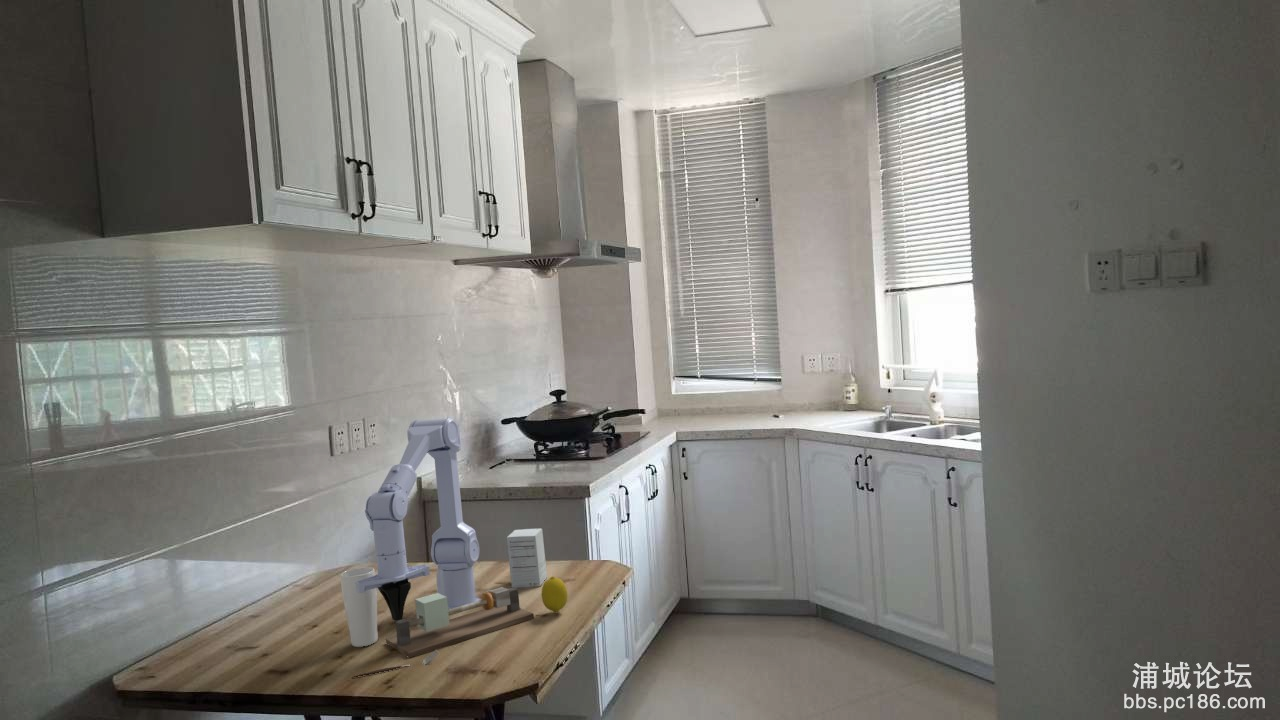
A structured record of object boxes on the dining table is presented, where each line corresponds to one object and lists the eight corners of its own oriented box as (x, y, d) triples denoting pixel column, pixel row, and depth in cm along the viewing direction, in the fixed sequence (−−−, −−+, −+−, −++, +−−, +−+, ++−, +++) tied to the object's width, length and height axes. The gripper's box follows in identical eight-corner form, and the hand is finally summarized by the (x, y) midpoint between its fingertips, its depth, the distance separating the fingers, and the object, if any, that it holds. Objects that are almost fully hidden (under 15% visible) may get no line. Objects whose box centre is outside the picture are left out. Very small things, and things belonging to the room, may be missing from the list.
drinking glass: (372, 634, 181) (365, 565, 180) (387, 641, 176) (380, 569, 175) (341, 645, 176) (334, 573, 176) (356, 652, 171) (349, 578, 171)
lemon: (564, 617, 181) (561, 580, 181) (540, 617, 182) (536, 580, 182) (572, 608, 187) (568, 572, 186) (547, 608, 188) (544, 573, 188)
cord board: (386, 643, 175) (383, 613, 174) (506, 606, 192) (504, 579, 192) (409, 658, 165) (406, 626, 165) (533, 618, 182) (531, 589, 182)
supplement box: (519, 579, 213) (514, 529, 213) (547, 577, 212) (543, 527, 212) (510, 588, 206) (505, 536, 206) (540, 587, 205) (535, 535, 205)
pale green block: (417, 627, 175) (415, 599, 175) (440, 620, 178) (437, 592, 178) (426, 631, 171) (423, 603, 171) (449, 624, 175) (446, 596, 174)
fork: (350, 678, 159) (349, 667, 159) (437, 659, 164) (436, 648, 164) (351, 683, 156) (350, 672, 156) (439, 663, 162) (438, 653, 162)
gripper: (361, 563, 162) (369, 634, 163) (433, 546, 171) (439, 613, 171) (349, 557, 168) (356, 625, 168) (419, 541, 177) (425, 606, 177)
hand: (397, 619), depth 170 cm, fingers closed
